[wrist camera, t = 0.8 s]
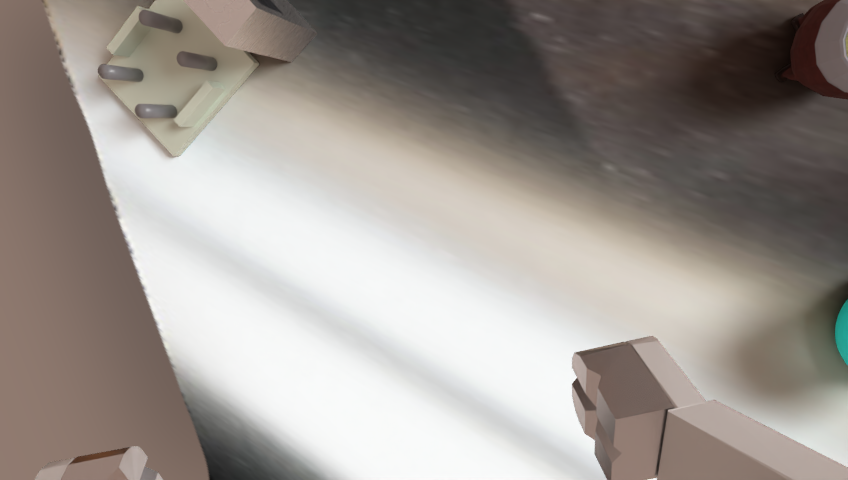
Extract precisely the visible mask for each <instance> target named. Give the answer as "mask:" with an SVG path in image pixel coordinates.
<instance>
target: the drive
mask: <svg viewBox="0 0 848 480" xmlns="http://www.w3.org/2000/svg"><path fill="white" fill-rule="evenodd" d="M183 1H184V2H185V3H186V4H187V5H188V6H189V7H190V8H191V9H192V10H193V12H194V13H195V14H196V15H197V16H198V17H199V18H200V19H201V20H202V21H203V22H204V24H205V25H206V26H207V27H208V28H209V29H210V30H211V31H212V32H213V33H214V35H215V36H216V37H217V38H218V39H219V40H220V41H221V42H222V43H223V44H224V45H225V46H227V47H231V48H235V49H240V50H244V51H248V52H252V53H256V54H260V55H264V56H268V57H272V58H277V59H281V60H285V61H289V62H293V61H294V59H295V58H296V57H297V56H298V55H299V54H300V53H301V52H302V50H303V49H304V48H305V47H306V46H307V45H308V44H309V43H310V41H311V40H312V39H313V38H314V37H315V36H316V35H317V34H318V33H317V32H316V31H315V30H314V29H313V28H312V27H311V26H310V24H309V23H308V22H307V21H306V20H305V19H304V18H303V17H302V16H301V14H300V13H299V12H298V11H297V10H296V9H295V8H294V7H293V6H292V4H291V3H290V2H289V1H288V0H183Z"/></svg>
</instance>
